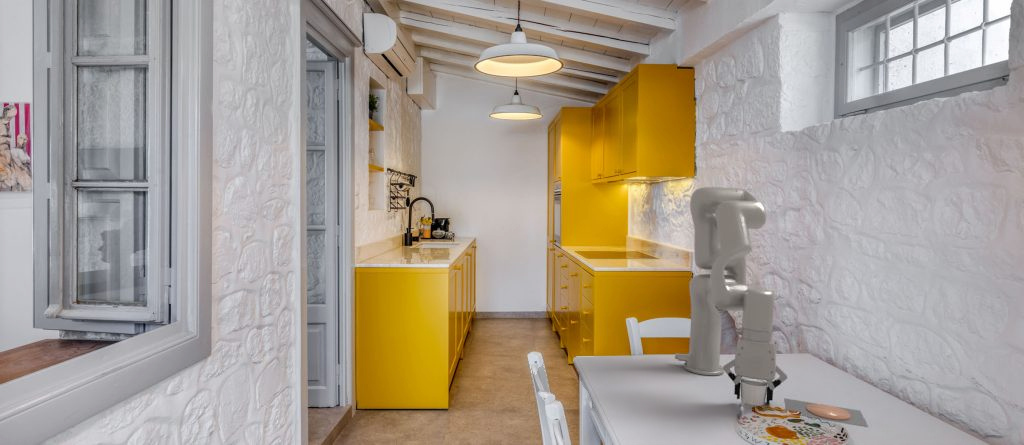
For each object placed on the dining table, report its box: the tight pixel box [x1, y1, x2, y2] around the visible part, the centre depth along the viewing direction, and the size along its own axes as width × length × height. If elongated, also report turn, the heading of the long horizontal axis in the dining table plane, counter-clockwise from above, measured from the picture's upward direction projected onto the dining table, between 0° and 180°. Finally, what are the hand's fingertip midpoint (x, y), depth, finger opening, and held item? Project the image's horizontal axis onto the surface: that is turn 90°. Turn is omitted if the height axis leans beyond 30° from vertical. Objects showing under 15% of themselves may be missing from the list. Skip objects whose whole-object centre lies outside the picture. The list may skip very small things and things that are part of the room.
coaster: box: [807, 403, 851, 420], centre depth 143 cm, size 10×10×1 cm
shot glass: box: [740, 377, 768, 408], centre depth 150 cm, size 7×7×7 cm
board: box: [784, 398, 869, 428], centre depth 144 cm, size 18×12×2 cm, turn 66°
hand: (752, 399), depth 150 cm, fingers closed on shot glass, 6 cm apart
